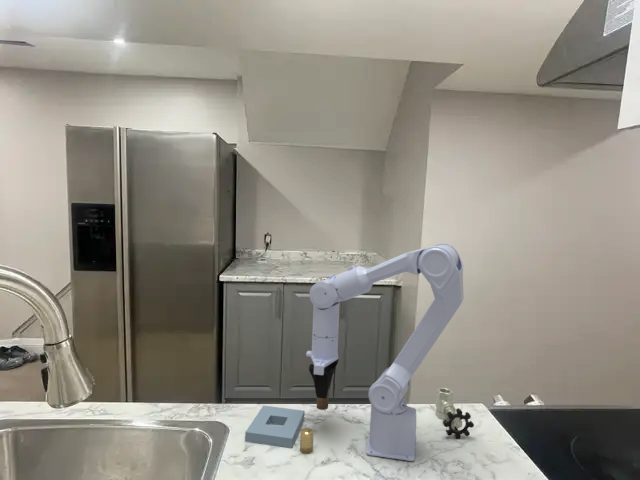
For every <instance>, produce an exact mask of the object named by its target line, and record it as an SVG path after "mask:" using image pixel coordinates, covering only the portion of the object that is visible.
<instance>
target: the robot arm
mask: <svg viewBox="0 0 640 480" xmlns="http://www.w3.org/2000/svg"><path fill="white" fill-rule="evenodd" d="M346 268H347V270H346V271H343V272H340V273H338V274H334V273H333V274H330V275H328V278H327V279H324V280H318V281H317V282H316V283H315V284H313V285H312V286H311V287H310V289H309V299H310V302H311V303H312V305H313V308H312V309H313V310H312V332H311V333H312V335H311V350H307V351H306V353H305V355H306V357H308V358H310V359H311V360H312V364H310V365H309V366H308V371H309V373H310V375H311V377H312V380H313V385H314V391H315V396H316V399H317V398H325V399H326V397H327V394H328V390H329V391H330V388H331V384H332V379H333V375H334V374H335V371H336V369H337V368H336V367H337V365H339V364H338V363H339V353H338V352H339V350H338V348H339V347H338V346H339V330H340V329H339V327H340V326H339V324H340V303H342V302H345V301H348V300H350V299H353V298H356V297H358V296H361V295H364V294H366V293H369V292H370V291H371V290H372V287H373V285H374V283H377V282H380V281H383V280H386V279H389V278H391V277H394V276H397V275H400V274H404V273H409V274H410V273H411V274H413V275H416V276H417V275H420V274H422V275H423V277H424V278H425V280H426V281H427V282H428V283H429V285H430V288H431V290H432V294H433V297H434V300H433V301H432V302H431V304H430V306H429V307H428V309H427V310H426V312H425V313H424V315H423V317H422V318H421V319H420V321H419V323H418V324H417V326H416V327H415V329H414V331H413V332H412V334H410V337H409V338H408V339H407V341H406V342H405V343H404V345H403V347H402V348H401V350H400V351H399V353H398V354H397V356H396V358H395V359H394V360H393V361H392V364H391V365H390V366H389V367H387V368H386V369H384V370H383V371H382V373H381V375H380V376H379V377H378V379H377V380H376V381H375V382H373V383H372V384H371V386H370V387H369V389H368V395H367V396H368V400H369V402H370V404H371V405H370V420H369V421H370V423H369V424H370V425H369V432H368V434H367V443H366V450H365V453H366V455H367V456H372V457H373V456H374V457H379V458H380V457H381V458H387V459H393V460H400V461H407V462H414V461H415V454H416V453H415V452H416V445H417V409H416V408H415V407H412V406H408V404H407V401H406V399H405V395H406V394H407V393H408V391H409V389H410V386H411V379H412V377H413V376H414V374H415V373H416V372H417V370H418V368H419V367H420V365H421V364H422V362H423V361H424V360H425V358H426V357H427V355H428V354H429V352H430V351H431V349H432V348H433V346H434V344H435V343H436V341H438V340H439V338H440V336H441V334H442V333H443V332H444V330H445V329H446V327H447V325H449V323H450V321H451V320H452V318H453V317H454V315H455V314H456V312H457V311H458V310H459V308H460V306H461V305H462V304H463V301H464V273H463V272H464V264H463V261H462V258H461V256H460V254H459V252H458V251H457V249H456V248H455V247H454V246H453V245H450V244H448V243H437V244H435V245H434V246H433V245H432V246H428V247H424V248H419V249H416V250H415V249H414V250H411V251H408V252H404V253H402V254H400V255H398V256H395V257H393V258H391V259H389V260H386V261H384V262H382V263H378V264H377V265H374V266H372V267H370V268H366V267H364V266H361V265H358V266H355V265H354V264H353V265H351V266H347V267H346Z"/></svg>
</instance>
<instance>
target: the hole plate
mask: <svg viewBox="0 0 640 480" xmlns="http://www.w3.org/2000/svg"><path fill="white" fill-rule="evenodd" d="M305 415H306V413H305V410H301V409H294V408H285V407H278V406H272V405H270V406H269V405H265V404H263V405H262V406H261V408H260V410H259V411H258V413H257V414H256V415H255V417H254V419H253V420H252V421H251V423H250V424H249V425H248V427H247V429H246V430H245V434H244V435H245V436H244V437H245V438H244V439H245V442H249V443H254V444H262V445H268V446H269V445H270V446H277V447H283V448H289V449H292V448H293V446H294V444H295V442H296V440H297V437H298V435H299V432H300V431H301V429H302V425H303V423H304V421H305Z"/></svg>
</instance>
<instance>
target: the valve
mask: <svg viewBox="0 0 640 480" xmlns="http://www.w3.org/2000/svg"><path fill="white" fill-rule="evenodd" d="M464 413H465V414H463V411H462V409H460V408H459V407H457V408H456V407H455V405H454V391H453V390H452V389H450V388H449V387H448V388H447V387H439V388H437V389H436V398H435V416H436V417H437V419H439V420H442V419H443V421H442V424H443V426H444V427H446V428H448V429H446V430H445V433H446V436H447V435H448V436H449V437H450V436H453V434H454V437H455V439H456V440H461V438H462V436H461V435H462V434H464V435H465V437H469V436H470V431H469V430H468V429H469V428H470V429H472V428H474V426H475V424H474V422H473V421H472V420H470V419H471V417H472V415H471V414H470V413H469V412H468V411H466V412H464ZM462 420H464V422H465V425H464V427H463V421H462ZM452 425H453V427H454V429H453V427H452ZM462 427H463V428H462ZM461 428H462V429H461ZM458 429H460V430H458Z"/></svg>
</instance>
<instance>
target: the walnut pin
mask: <svg viewBox="0 0 640 480" xmlns="http://www.w3.org/2000/svg"><path fill="white" fill-rule="evenodd" d="M329 392H330V389H329V390H328V394H327V397H326V399H325V398H317V397H316V408H317V409H318V410H321V411H324V410H325V411H326V410H329V396H330V395H329Z"/></svg>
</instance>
